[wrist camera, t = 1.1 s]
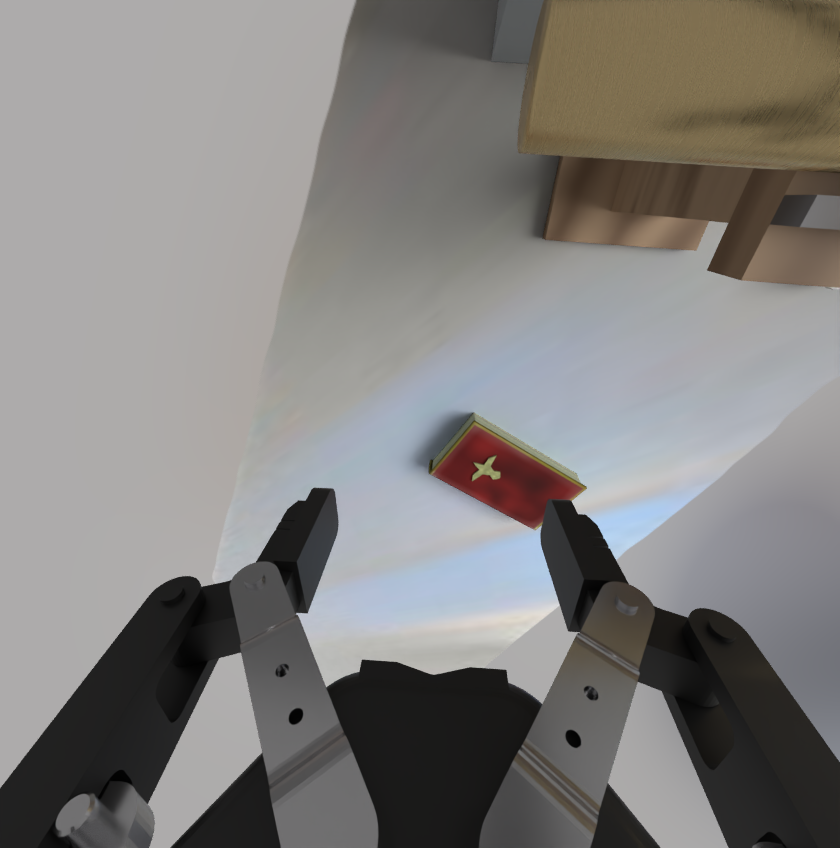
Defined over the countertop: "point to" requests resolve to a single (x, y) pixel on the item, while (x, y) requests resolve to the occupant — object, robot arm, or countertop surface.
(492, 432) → the hardcover book
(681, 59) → the brass rod
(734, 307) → the countertop surface
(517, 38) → the grey cradle
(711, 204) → the walnut stand
